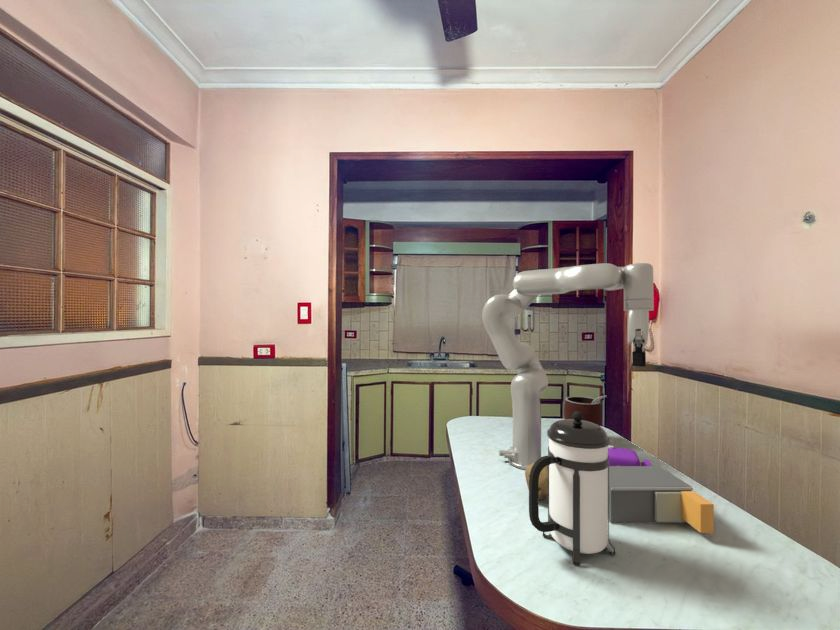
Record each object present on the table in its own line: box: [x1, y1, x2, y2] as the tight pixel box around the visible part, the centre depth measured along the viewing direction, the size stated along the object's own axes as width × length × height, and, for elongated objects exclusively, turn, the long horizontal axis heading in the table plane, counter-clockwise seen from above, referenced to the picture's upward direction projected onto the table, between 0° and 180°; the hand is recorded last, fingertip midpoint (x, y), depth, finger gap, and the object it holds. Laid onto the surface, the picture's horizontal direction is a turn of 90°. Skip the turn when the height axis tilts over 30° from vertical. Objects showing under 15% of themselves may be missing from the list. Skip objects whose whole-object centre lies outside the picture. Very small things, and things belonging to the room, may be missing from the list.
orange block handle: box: [655, 490, 715, 534], centre depth 85 cm, size 9×7×8 cm
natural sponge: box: [524, 462, 548, 500], centre depth 101 cm, size 9×9×10 cm
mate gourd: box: [563, 394, 607, 427], centre depth 144 cm, size 16×14×20 cm
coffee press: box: [528, 411, 616, 566], centre depth 80 cm, size 17×16×30 cm
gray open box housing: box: [609, 465, 694, 524], centre depth 94 cm, size 22×12×9 cm, turn 90°
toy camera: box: [608, 444, 652, 466], centre depth 110 cm, size 11×14×10 cm
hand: (639, 364), depth 105 cm, fingers open, 9 cm apart
